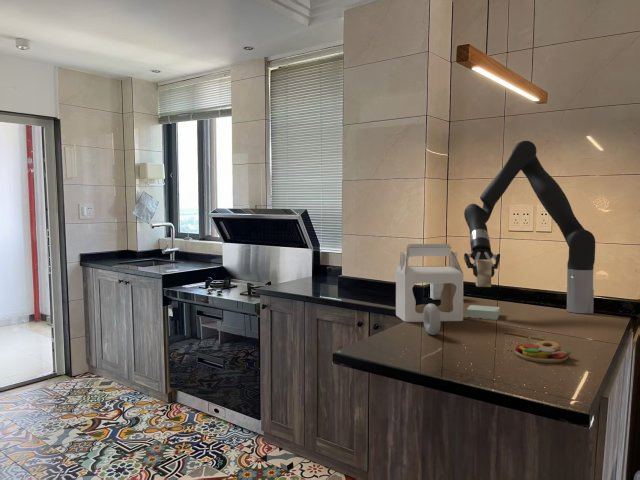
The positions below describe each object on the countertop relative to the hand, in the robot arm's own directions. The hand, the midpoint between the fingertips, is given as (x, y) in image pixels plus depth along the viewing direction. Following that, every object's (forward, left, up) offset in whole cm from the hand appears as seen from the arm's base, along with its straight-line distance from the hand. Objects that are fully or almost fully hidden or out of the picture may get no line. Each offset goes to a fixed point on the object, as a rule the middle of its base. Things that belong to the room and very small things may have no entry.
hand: (484, 275), depth 180 cm
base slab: (0, -2, -16) cm, 16 cm away
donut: (+11, +38, -16) cm, 43 cm away
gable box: (+19, +11, -16) cm, 27 cm away
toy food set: (-21, +51, -16) cm, 58 cm away
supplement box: (+24, -40, -16) cm, 49 cm away
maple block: (+1, -2, -4) cm, 5 cm away
